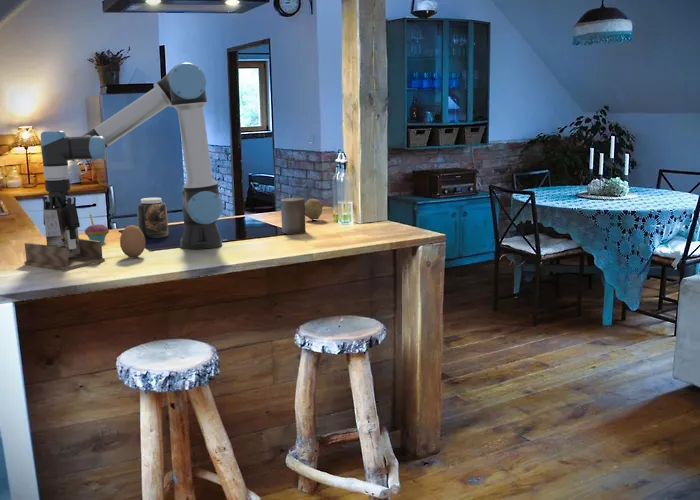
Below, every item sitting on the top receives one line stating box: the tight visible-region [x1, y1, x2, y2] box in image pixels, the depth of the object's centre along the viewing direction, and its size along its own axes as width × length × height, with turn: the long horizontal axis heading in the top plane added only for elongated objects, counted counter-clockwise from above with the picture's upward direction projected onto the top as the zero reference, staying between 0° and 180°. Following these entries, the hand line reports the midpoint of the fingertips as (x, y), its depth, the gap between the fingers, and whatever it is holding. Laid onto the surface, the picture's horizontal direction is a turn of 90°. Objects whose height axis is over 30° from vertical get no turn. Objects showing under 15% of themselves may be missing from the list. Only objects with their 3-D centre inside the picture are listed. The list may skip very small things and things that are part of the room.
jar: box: [136, 197, 169, 239], centre depth 282 cm, size 12×12×15 cm
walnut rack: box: [23, 237, 105, 272], centre depth 234 cm, size 20×16×7 cm
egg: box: [119, 224, 146, 259], centre depth 241 cm, size 8×8×11 cm
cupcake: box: [84, 212, 110, 244], centre depth 269 cm, size 9×8×12 cm
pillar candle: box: [280, 196, 306, 235], centre depth 286 cm, size 10×10×15 cm
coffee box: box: [43, 208, 80, 257], centre depth 233 cm, size 9×6×16 cm
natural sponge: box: [305, 198, 323, 220], centre depth 316 cm, size 9×9×10 cm
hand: (63, 247), depth 234 cm, fingers closed on coffee box, 8 cm apart
